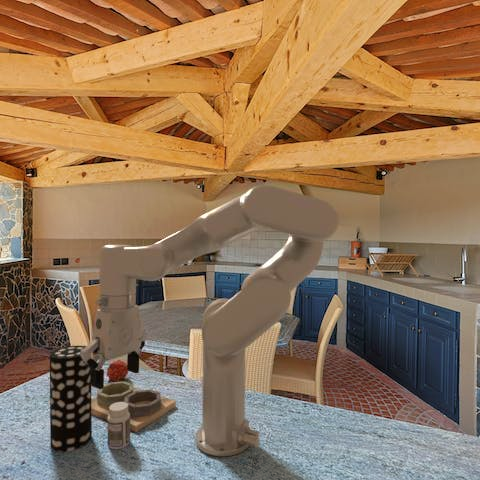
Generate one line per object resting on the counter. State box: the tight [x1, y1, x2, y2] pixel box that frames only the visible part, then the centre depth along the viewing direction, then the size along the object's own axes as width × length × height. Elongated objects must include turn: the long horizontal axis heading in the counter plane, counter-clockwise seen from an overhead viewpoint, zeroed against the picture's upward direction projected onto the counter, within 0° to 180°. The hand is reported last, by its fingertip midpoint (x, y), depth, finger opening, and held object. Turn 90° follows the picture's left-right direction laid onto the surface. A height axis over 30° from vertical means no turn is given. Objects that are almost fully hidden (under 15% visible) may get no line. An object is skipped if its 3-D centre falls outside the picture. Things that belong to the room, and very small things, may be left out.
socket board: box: [91, 380, 177, 433], centre depth 95 cm, size 20×14×4 cm
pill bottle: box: [106, 402, 131, 450], centre depth 79 cm, size 5×5×8 cm
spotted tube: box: [49, 345, 93, 453], centre depth 80 cm, size 8×8×20 cm
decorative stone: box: [106, 359, 129, 382], centre depth 113 cm, size 6×7×8 cm
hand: (116, 379), depth 79 cm, fingers open, 9 cm apart
